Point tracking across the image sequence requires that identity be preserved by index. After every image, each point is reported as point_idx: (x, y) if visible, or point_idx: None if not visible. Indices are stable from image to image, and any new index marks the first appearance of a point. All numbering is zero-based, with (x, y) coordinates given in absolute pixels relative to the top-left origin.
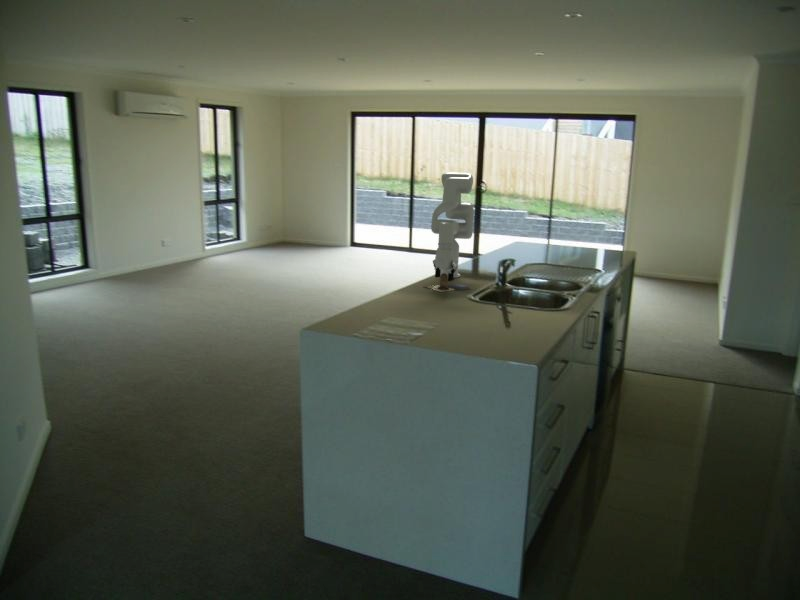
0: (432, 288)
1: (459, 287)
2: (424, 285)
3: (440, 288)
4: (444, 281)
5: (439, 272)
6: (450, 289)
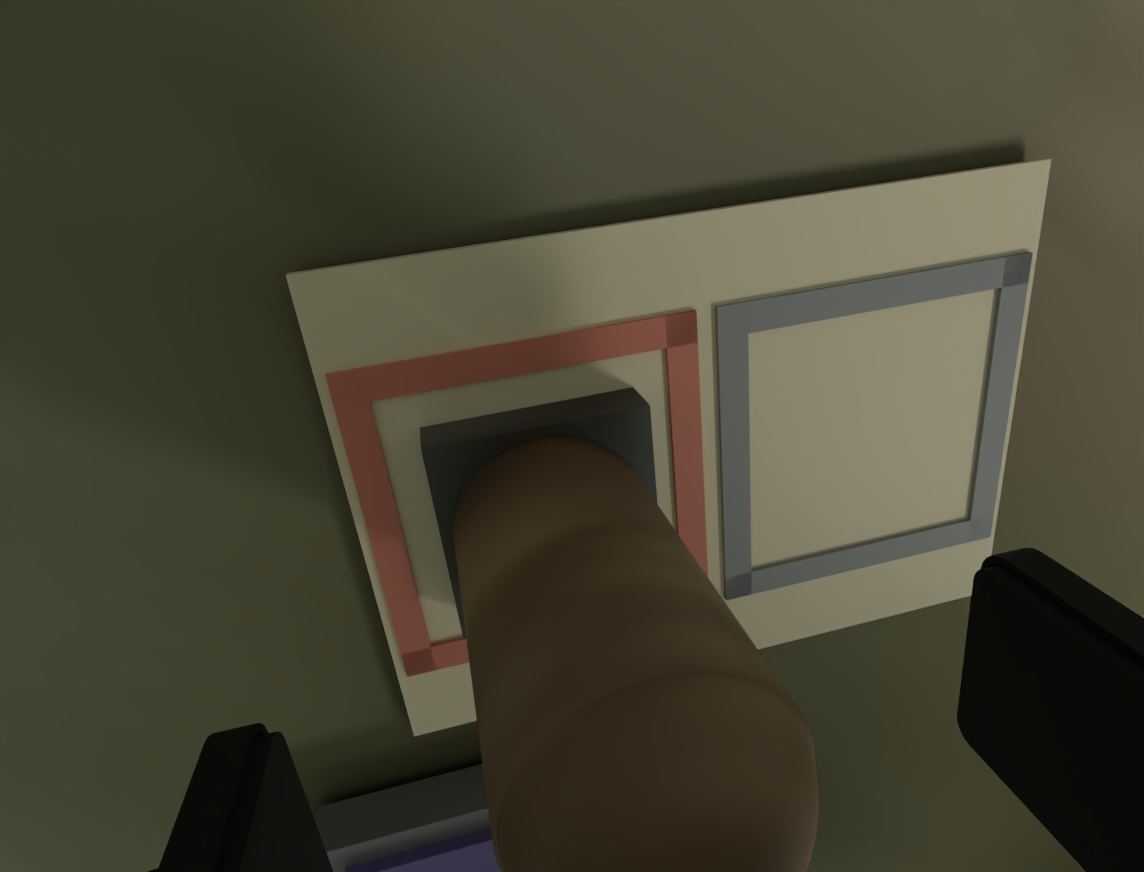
0: (749, 279)
1: (384, 858)
2: (1139, 345)
3: (538, 417)
4: (478, 620)
5: (1105, 839)
6: (441, 643)
